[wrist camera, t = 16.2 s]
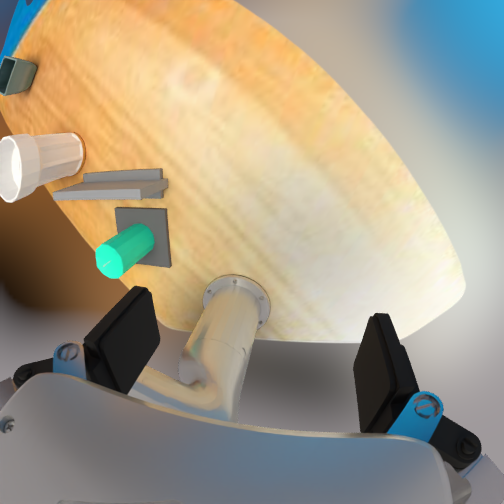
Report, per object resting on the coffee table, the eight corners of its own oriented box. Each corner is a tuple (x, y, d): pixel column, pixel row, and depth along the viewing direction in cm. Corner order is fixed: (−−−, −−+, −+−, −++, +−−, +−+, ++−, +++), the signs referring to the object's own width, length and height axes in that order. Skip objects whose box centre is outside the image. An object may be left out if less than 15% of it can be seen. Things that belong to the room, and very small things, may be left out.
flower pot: (44, 61, 36) (16, 59, 28) (31, 95, 40) (4, 96, 32) (29, 57, 36) (4, 55, 28) (18, 88, 39) (-8, 89, 31)
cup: (49, 161, 46) (-11, 179, 30) (68, 117, 41) (2, 124, 26) (76, 190, 48) (14, 216, 32) (97, 145, 43) (27, 158, 27)
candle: (155, 226, 47) (117, 253, 36) (154, 256, 49) (119, 288, 38) (128, 220, 47) (87, 244, 36) (128, 249, 50) (90, 278, 39)
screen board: (168, 197, 45) (141, 211, 37) (85, 197, 48) (55, 209, 40) (167, 168, 43) (139, 176, 35) (82, 173, 46) (51, 182, 38)
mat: (171, 265, 50) (169, 267, 50) (124, 259, 52) (122, 261, 51) (166, 208, 46) (164, 209, 45) (116, 207, 47) (114, 208, 47)
